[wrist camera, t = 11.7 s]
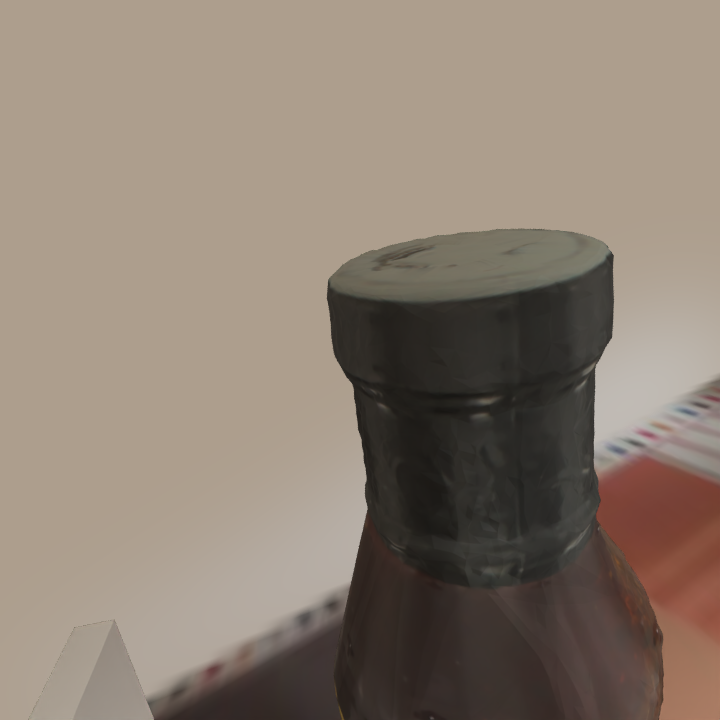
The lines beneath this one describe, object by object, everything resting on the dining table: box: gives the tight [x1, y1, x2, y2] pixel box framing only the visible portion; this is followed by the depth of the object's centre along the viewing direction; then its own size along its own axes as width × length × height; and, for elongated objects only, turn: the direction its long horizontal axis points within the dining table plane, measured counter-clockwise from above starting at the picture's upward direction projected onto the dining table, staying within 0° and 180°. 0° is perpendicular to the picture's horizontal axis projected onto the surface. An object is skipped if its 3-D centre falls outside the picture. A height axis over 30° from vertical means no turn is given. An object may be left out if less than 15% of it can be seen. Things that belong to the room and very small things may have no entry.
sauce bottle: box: [327, 229, 664, 720], centre depth 12 cm, size 6×6×20 cm
